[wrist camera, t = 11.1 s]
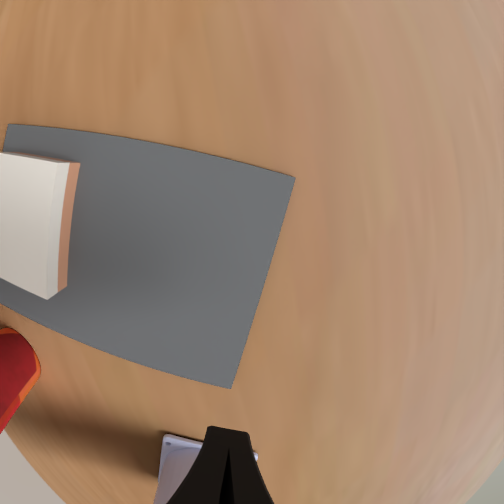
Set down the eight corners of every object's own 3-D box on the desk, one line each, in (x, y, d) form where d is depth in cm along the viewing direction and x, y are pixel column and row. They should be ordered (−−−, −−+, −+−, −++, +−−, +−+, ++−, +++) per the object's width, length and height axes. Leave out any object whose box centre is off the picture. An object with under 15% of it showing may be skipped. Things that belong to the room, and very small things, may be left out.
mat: (231, 385, 19) (230, 389, 19) (1, 300, 18) (-2, 302, 17) (294, 177, 16) (295, 177, 15) (11, 124, 14) (8, 123, 14)
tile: (47, 299, 15) (-12, 271, 14) (67, 285, 17) (8, 261, 17) (57, 162, 13) (-6, 152, 12) (80, 162, 15) (17, 151, 15)
